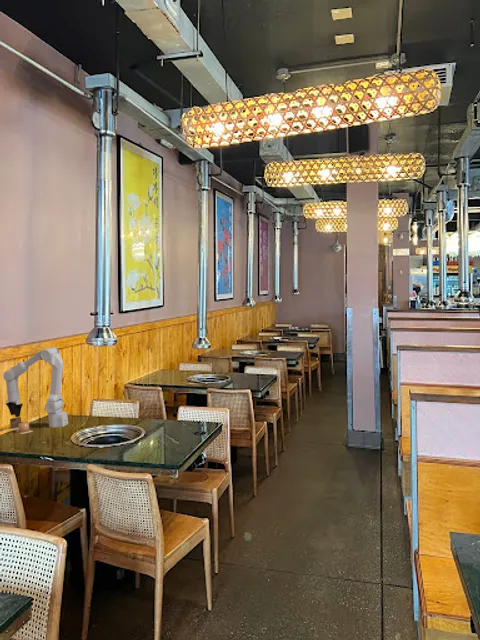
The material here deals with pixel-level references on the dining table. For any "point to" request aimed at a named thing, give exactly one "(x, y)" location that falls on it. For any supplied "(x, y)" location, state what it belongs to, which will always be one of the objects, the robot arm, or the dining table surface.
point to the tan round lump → (23, 426)
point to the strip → (15, 425)
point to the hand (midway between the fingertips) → (15, 415)
